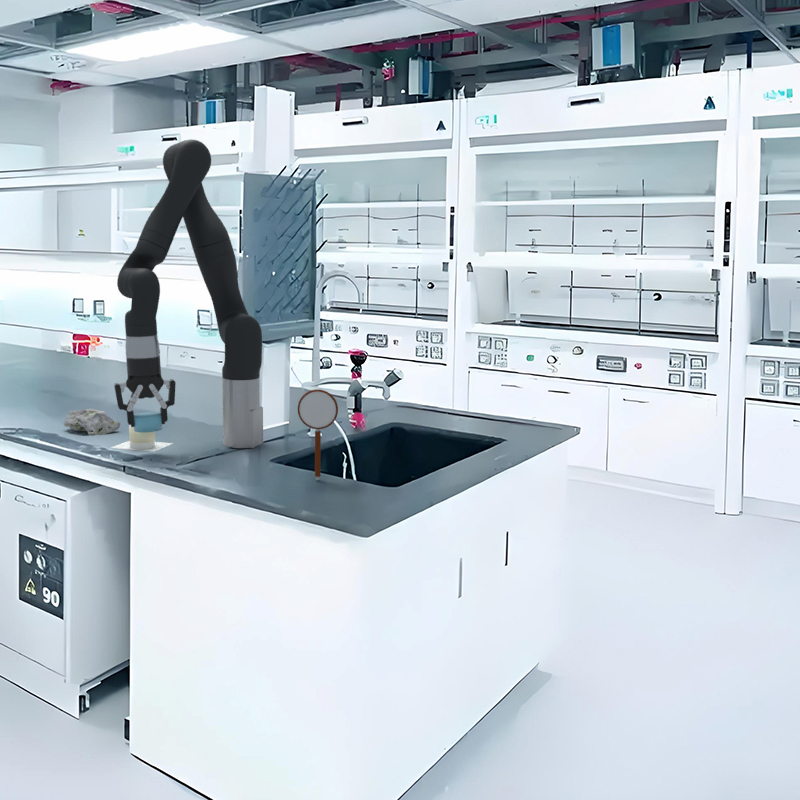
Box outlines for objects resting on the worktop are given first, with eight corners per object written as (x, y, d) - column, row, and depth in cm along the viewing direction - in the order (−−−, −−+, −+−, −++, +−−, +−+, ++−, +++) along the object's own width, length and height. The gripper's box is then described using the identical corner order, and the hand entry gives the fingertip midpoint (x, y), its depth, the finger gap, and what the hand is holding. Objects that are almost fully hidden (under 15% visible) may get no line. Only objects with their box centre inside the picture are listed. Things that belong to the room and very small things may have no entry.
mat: (173, 444, 217) (173, 443, 217) (153, 453, 208) (153, 451, 208) (131, 441, 220) (131, 439, 220) (110, 449, 211) (110, 447, 211)
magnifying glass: (297, 481, 185) (297, 389, 182) (298, 479, 187) (298, 388, 184) (337, 482, 185) (337, 390, 182) (338, 480, 187) (338, 389, 183)
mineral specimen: (54, 433, 228) (53, 408, 227) (73, 428, 235) (72, 404, 234) (102, 438, 223) (101, 413, 222) (120, 433, 229) (119, 408, 228)
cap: (167, 427, 205) (166, 412, 204) (153, 432, 199) (152, 418, 198) (143, 426, 207) (141, 411, 206) (128, 431, 200) (127, 417, 200)
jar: (160, 445, 214) (159, 417, 213) (147, 450, 208) (146, 422, 207) (138, 443, 216) (137, 416, 215) (124, 448, 210) (123, 420, 209)
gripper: (172, 351, 206) (176, 419, 209) (109, 354, 200) (114, 424, 203) (176, 354, 199) (181, 425, 202) (111, 358, 194) (116, 431, 197)
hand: (147, 424), depth 203 cm, fingers closed on cap, 6 cm apart
